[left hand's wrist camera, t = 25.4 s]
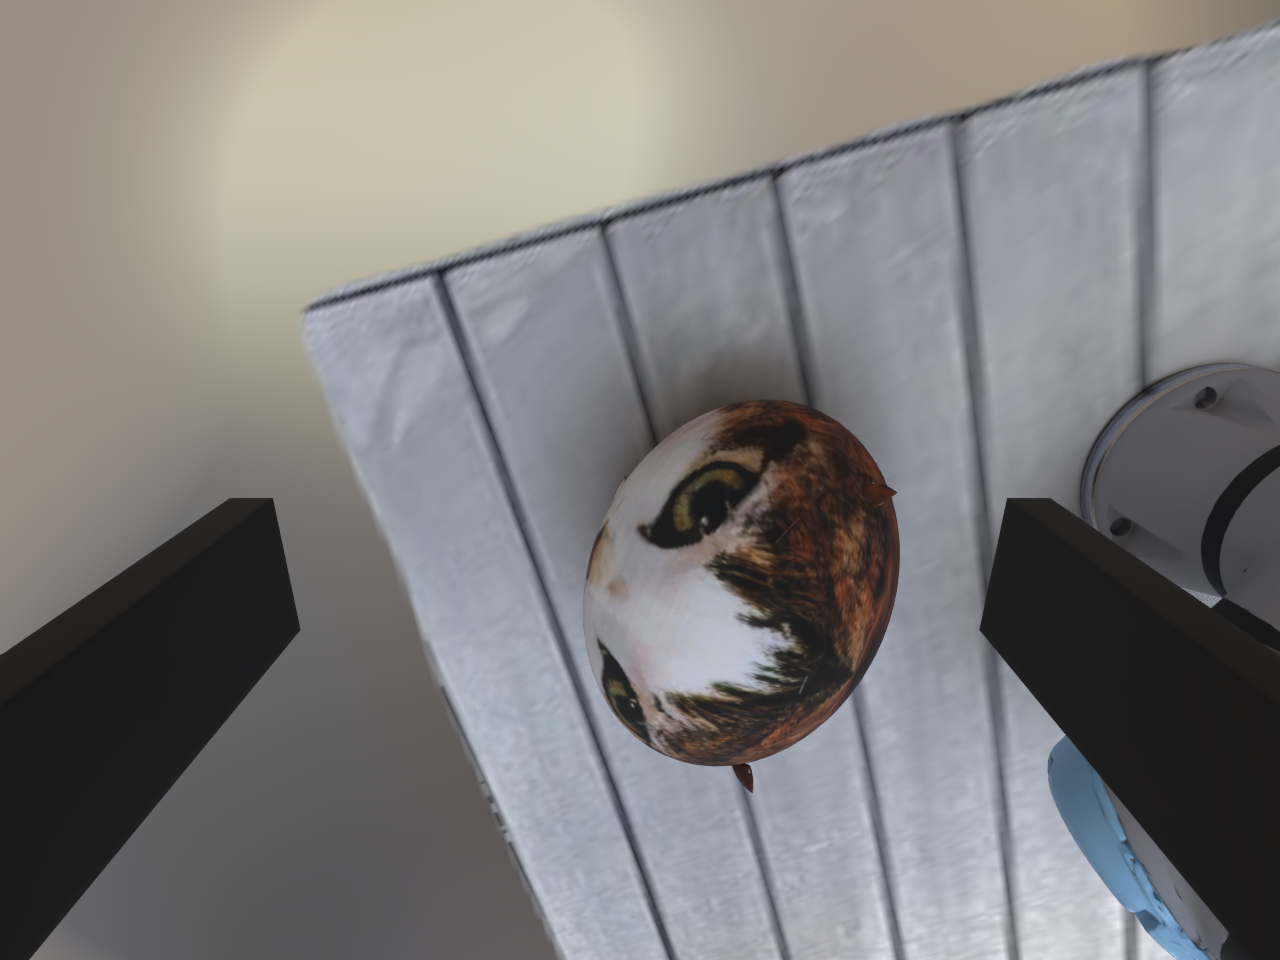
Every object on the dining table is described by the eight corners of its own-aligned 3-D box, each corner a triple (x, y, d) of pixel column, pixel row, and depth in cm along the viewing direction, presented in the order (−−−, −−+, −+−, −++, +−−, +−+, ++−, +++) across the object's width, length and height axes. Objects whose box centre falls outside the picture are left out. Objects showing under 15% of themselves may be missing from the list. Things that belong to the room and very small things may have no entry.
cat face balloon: (563, 317, 38) (856, 475, 25) (756, 360, 50) (1020, 481, 37) (468, 644, 45) (659, 901, 32) (657, 612, 57) (851, 788, 44)
